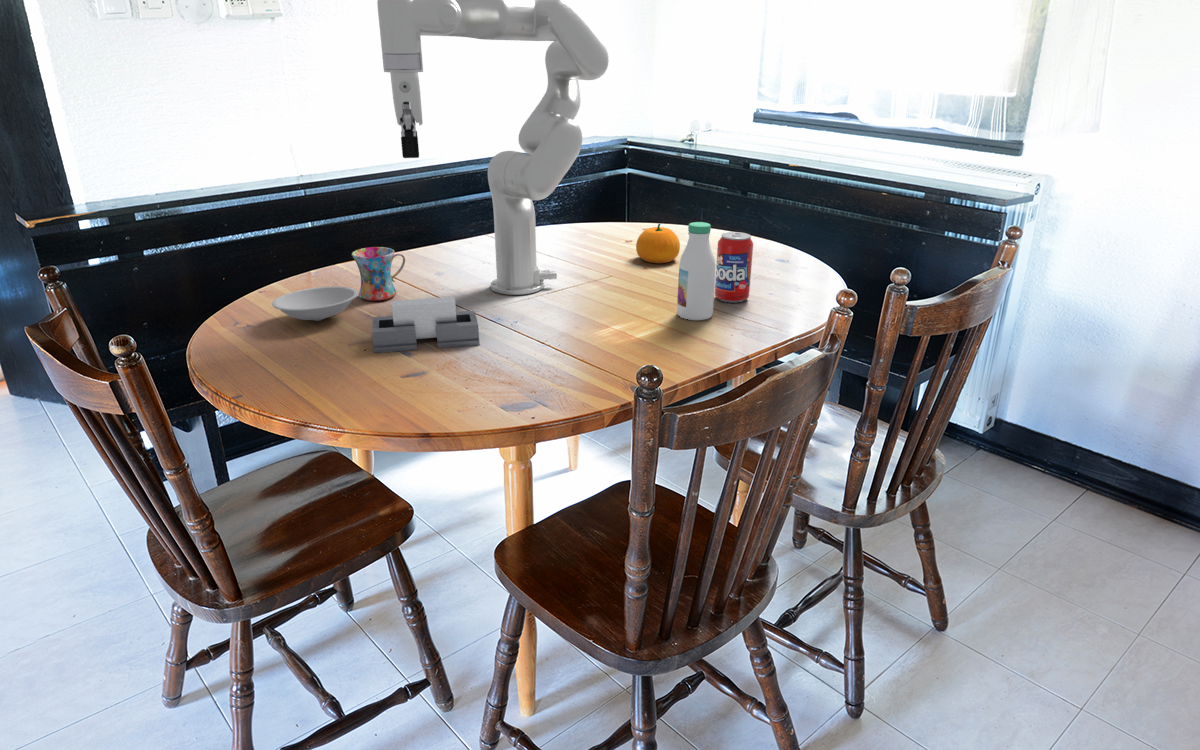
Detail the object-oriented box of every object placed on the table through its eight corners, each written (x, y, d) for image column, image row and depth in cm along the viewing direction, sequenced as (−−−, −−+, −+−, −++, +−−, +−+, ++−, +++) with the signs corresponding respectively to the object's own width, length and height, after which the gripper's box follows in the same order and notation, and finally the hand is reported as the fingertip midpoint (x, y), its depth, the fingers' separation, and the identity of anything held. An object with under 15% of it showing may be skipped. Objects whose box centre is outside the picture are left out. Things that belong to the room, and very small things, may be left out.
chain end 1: (416, 332, 161) (414, 313, 160) (416, 349, 153) (415, 330, 151) (375, 335, 160) (373, 316, 158) (373, 353, 151) (371, 333, 149)
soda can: (752, 296, 184) (758, 233, 178) (743, 306, 177) (748, 240, 171) (720, 292, 187) (724, 229, 181) (709, 301, 180) (713, 236, 174)
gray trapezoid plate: (456, 329, 160) (453, 296, 158) (457, 335, 157) (455, 301, 154) (395, 333, 158) (391, 300, 155) (395, 340, 154) (391, 306, 151)
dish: (292, 338, 158) (288, 315, 156) (264, 320, 168) (260, 298, 166) (373, 319, 169) (370, 296, 167) (342, 303, 178) (340, 281, 176)
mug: (366, 306, 177) (361, 259, 172) (351, 295, 183) (345, 250, 179) (416, 296, 183) (412, 251, 179) (399, 286, 190) (395, 243, 186)
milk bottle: (715, 312, 174) (721, 221, 166) (708, 323, 167) (714, 229, 159) (681, 308, 176) (685, 218, 168) (672, 319, 170) (677, 226, 162)
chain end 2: (475, 327, 164) (474, 309, 162) (479, 345, 155) (478, 325, 153) (436, 330, 162) (434, 312, 161) (438, 348, 153) (436, 328, 152)
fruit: (687, 258, 215) (688, 222, 211) (666, 268, 206) (667, 230, 202) (649, 252, 220) (650, 216, 216) (627, 262, 211) (628, 224, 207)
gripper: (423, 65, 147) (431, 160, 154) (421, 62, 163) (428, 148, 170) (381, 65, 146) (391, 161, 153) (384, 62, 161) (392, 149, 168)
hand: (410, 154), depth 161 cm, fingers open, 9 cm apart
